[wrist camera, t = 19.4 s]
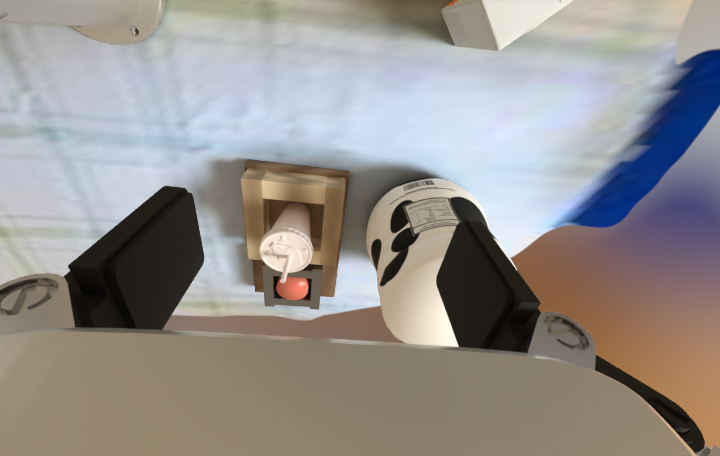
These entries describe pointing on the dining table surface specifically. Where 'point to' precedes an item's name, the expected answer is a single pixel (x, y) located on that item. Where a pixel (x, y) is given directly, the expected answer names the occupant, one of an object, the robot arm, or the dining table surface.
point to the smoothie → (288, 241)
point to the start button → (293, 288)
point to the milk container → (417, 255)
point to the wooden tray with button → (327, 208)
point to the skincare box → (495, 20)
